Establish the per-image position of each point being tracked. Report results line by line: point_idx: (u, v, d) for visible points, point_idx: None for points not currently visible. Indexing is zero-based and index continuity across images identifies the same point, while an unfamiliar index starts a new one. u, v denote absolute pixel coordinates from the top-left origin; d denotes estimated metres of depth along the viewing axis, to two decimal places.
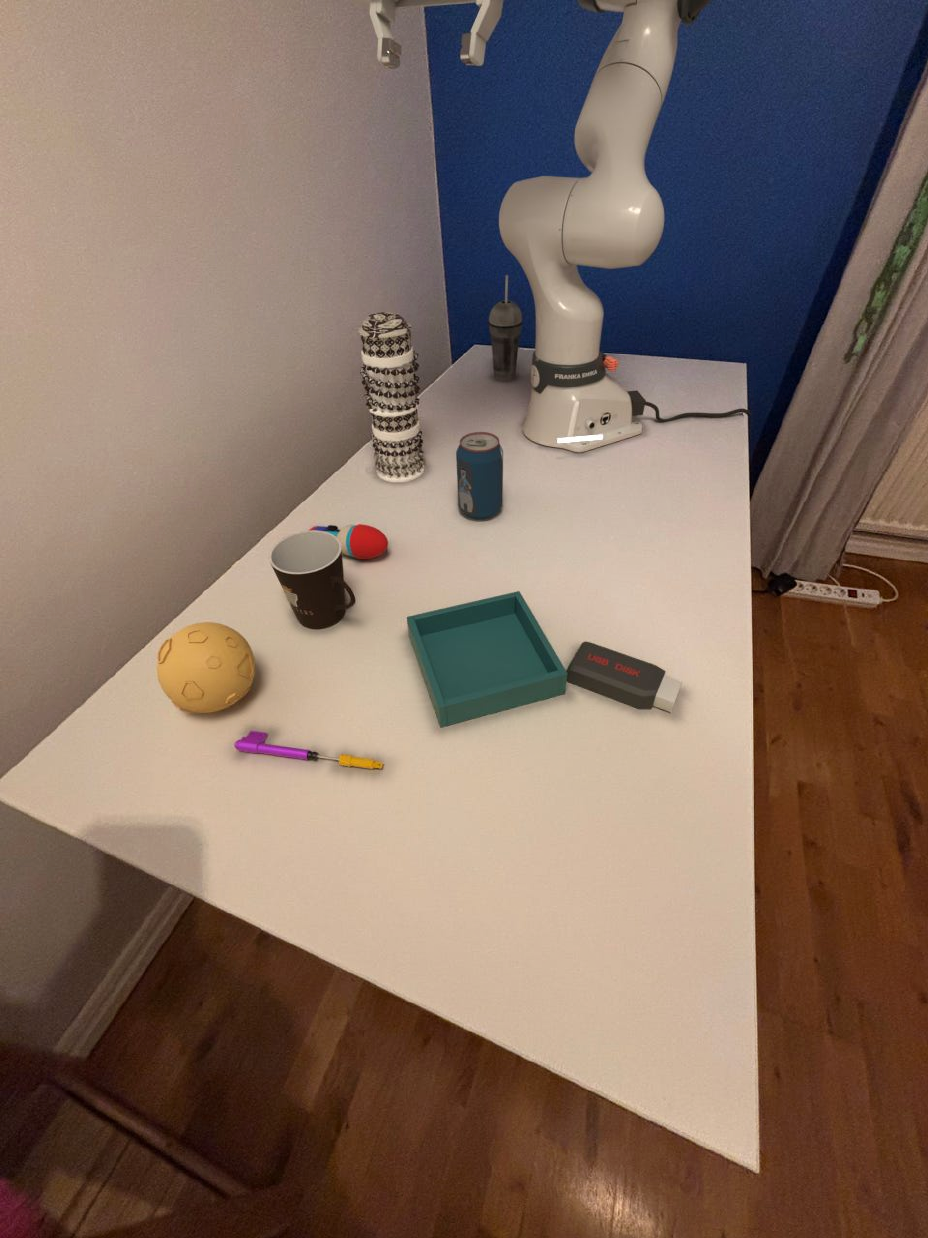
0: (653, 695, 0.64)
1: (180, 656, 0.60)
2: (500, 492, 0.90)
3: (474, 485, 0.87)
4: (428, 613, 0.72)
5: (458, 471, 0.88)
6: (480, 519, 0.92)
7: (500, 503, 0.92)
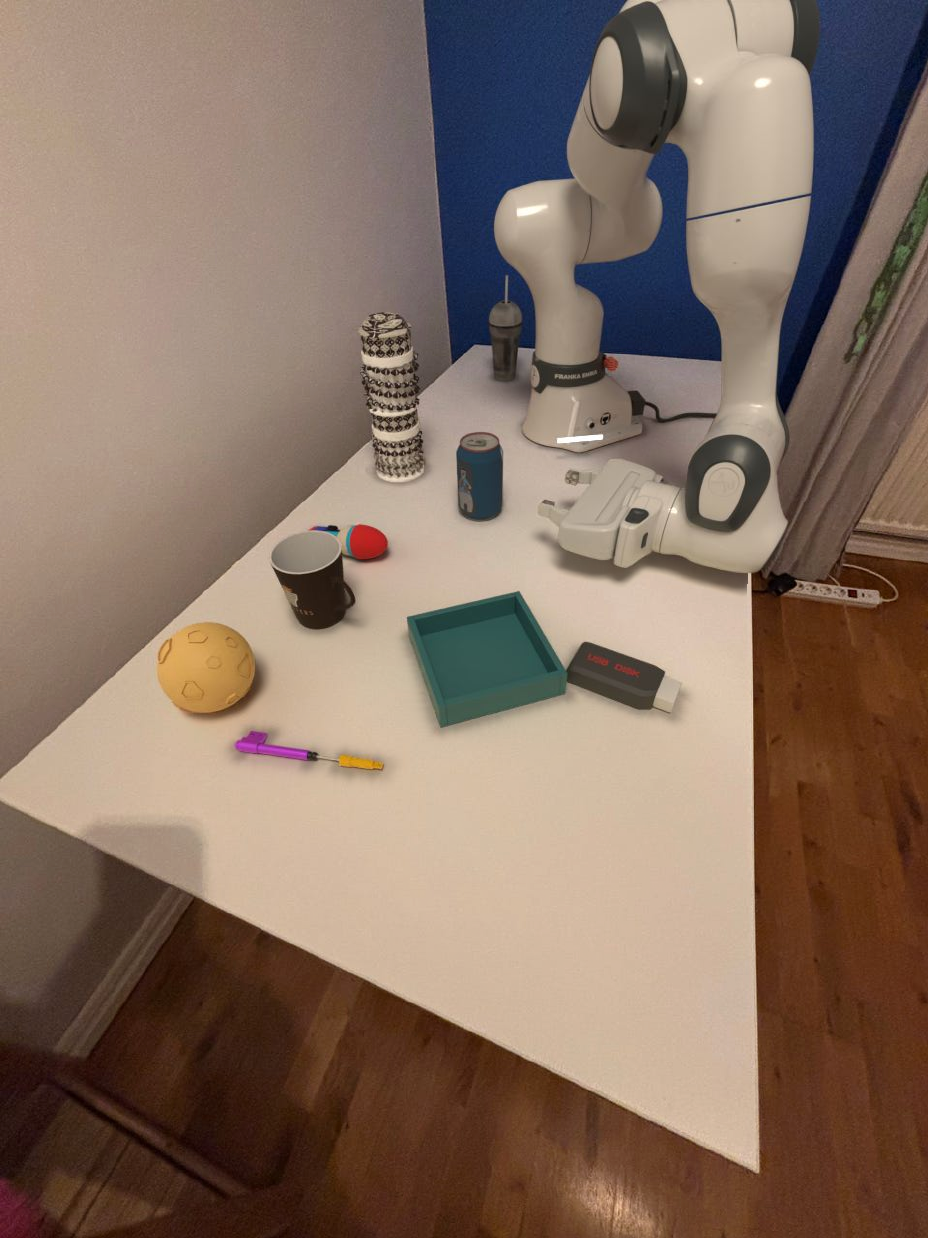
0: (653, 695, 0.64)
1: (180, 656, 0.60)
2: (500, 492, 0.90)
3: (474, 485, 0.87)
4: (428, 613, 0.72)
5: (458, 471, 0.88)
6: (480, 519, 0.92)
7: (500, 503, 0.92)
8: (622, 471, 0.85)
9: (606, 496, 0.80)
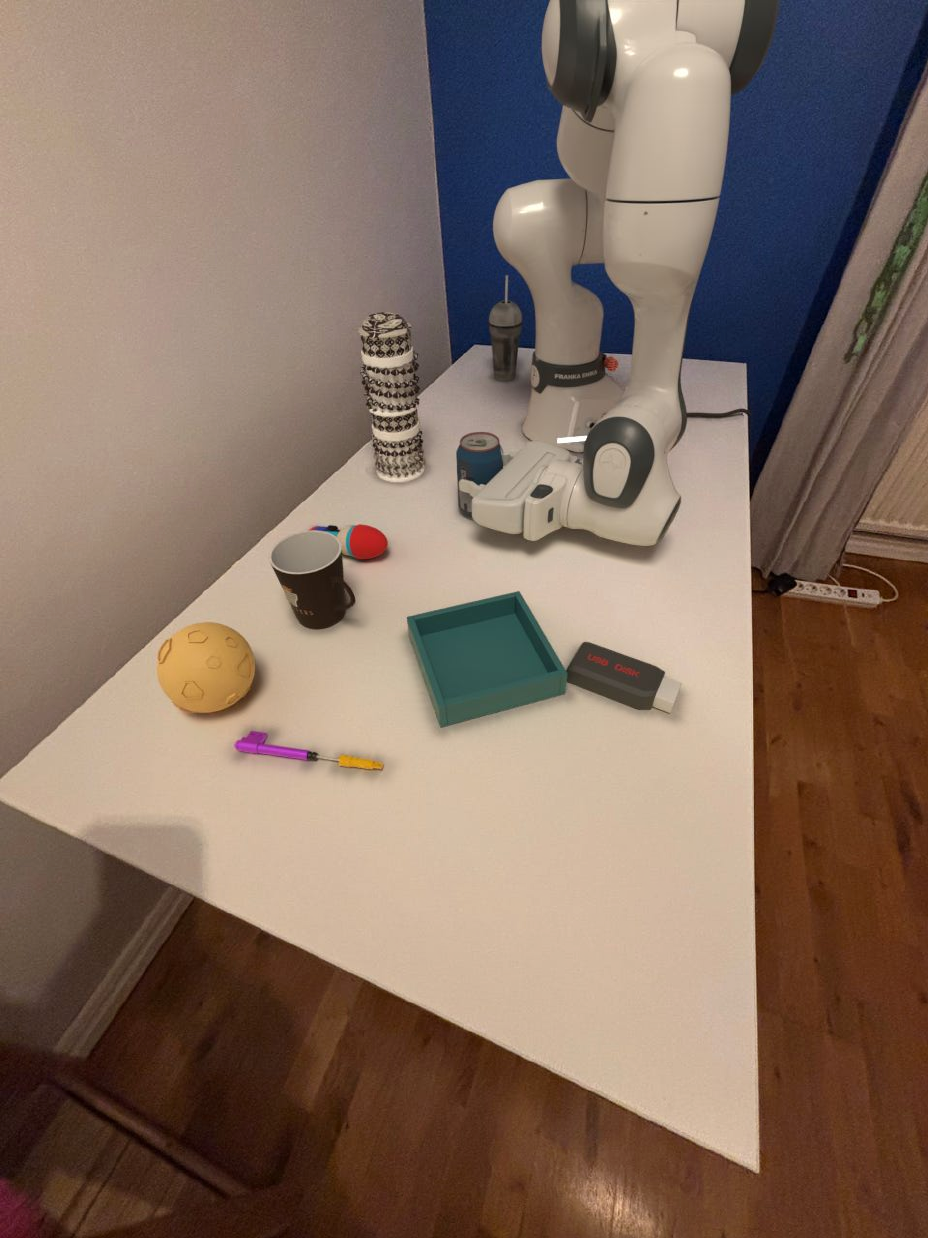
0: (652, 696, 0.64)
1: (180, 656, 0.60)
2: None
3: None
4: (428, 613, 0.72)
5: (458, 471, 0.88)
6: None
7: None
8: (538, 451, 0.90)
9: (519, 475, 0.85)
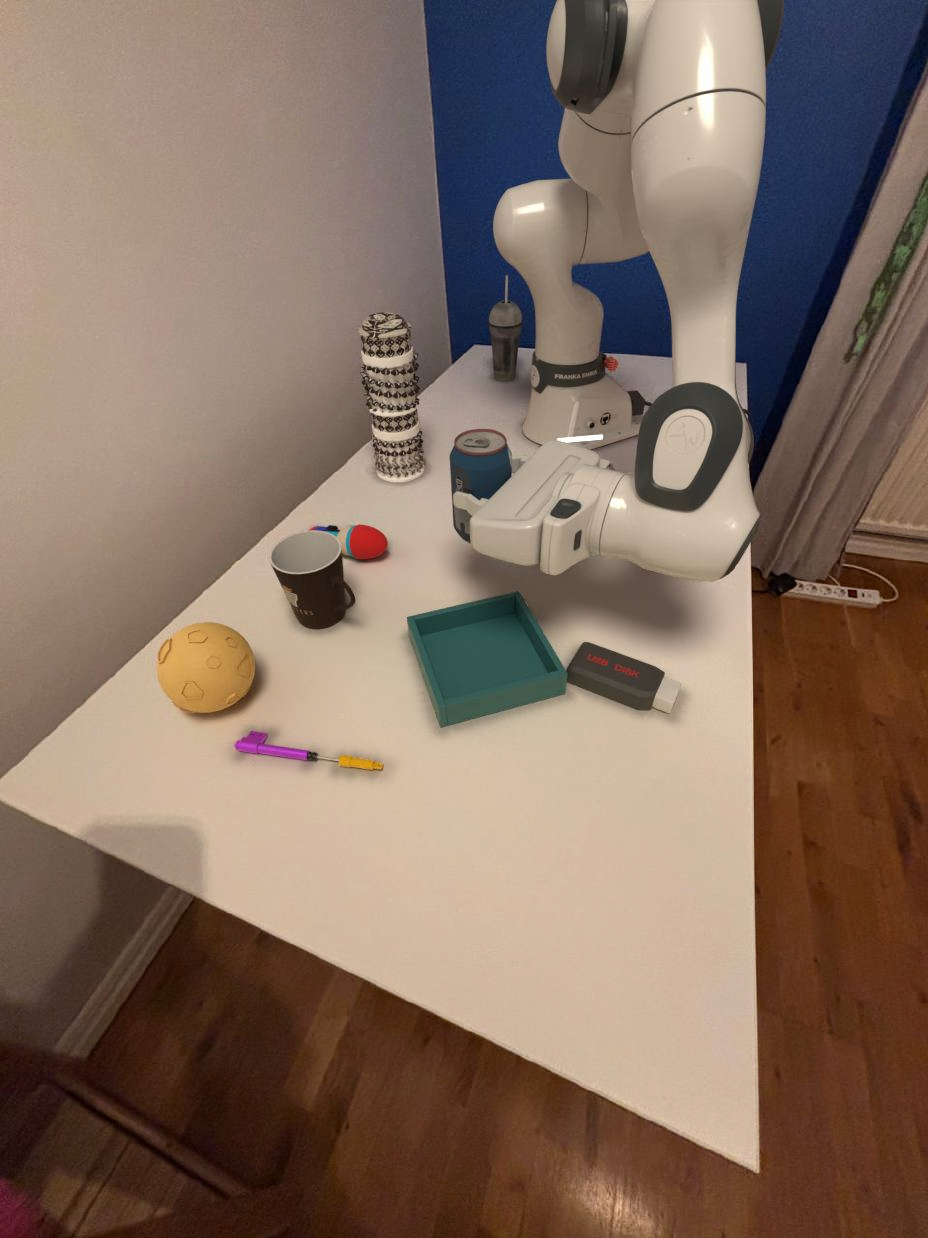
0: (652, 696, 0.64)
1: (180, 656, 0.60)
2: None
3: None
4: (428, 613, 0.72)
5: (452, 481, 0.67)
6: None
7: None
8: (558, 454, 0.68)
9: (534, 485, 0.64)
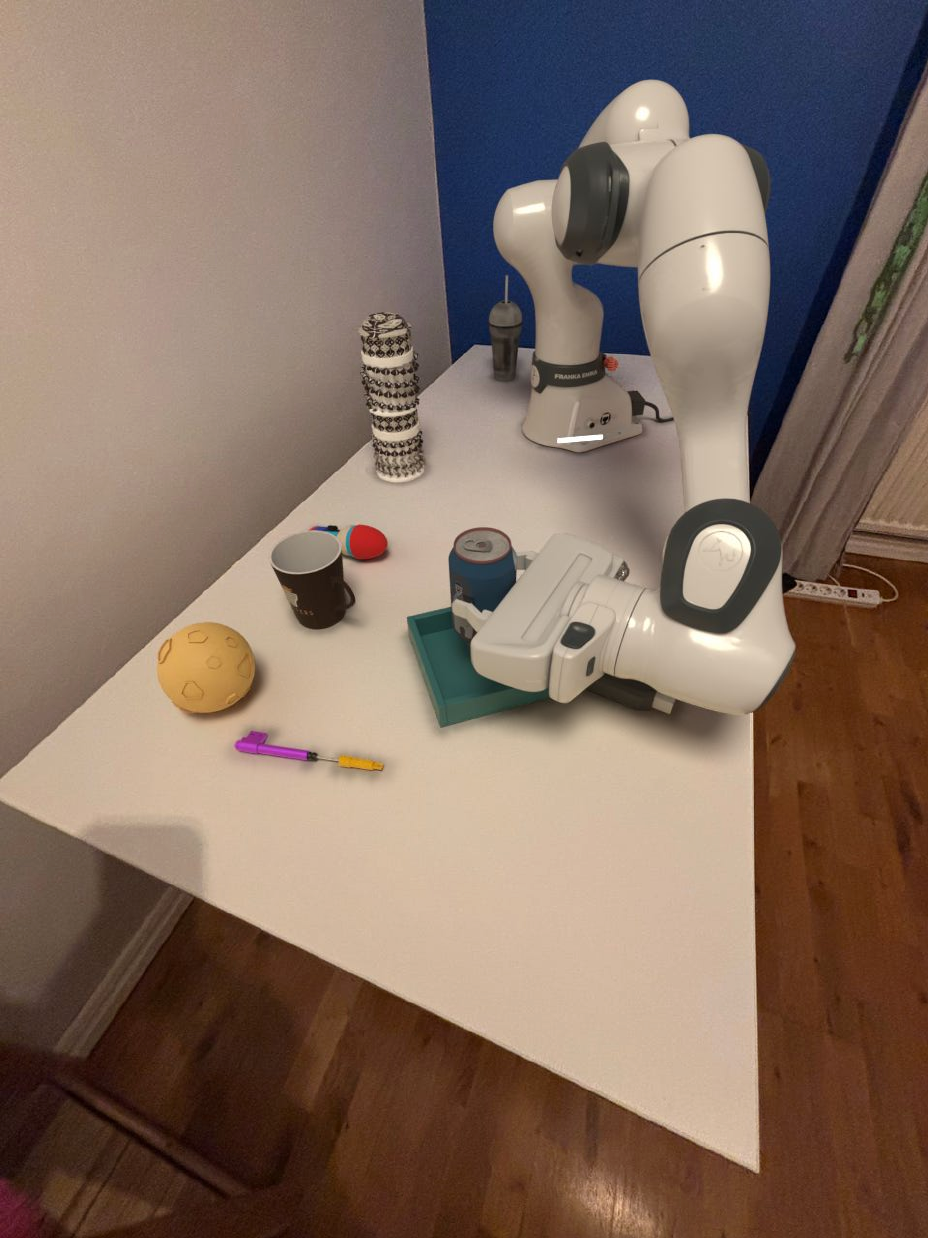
0: (652, 696, 0.64)
1: (180, 656, 0.60)
2: None
3: (475, 606, 0.60)
4: (428, 613, 0.72)
5: (451, 584, 0.61)
6: None
7: None
8: (567, 553, 0.62)
9: (542, 596, 0.58)
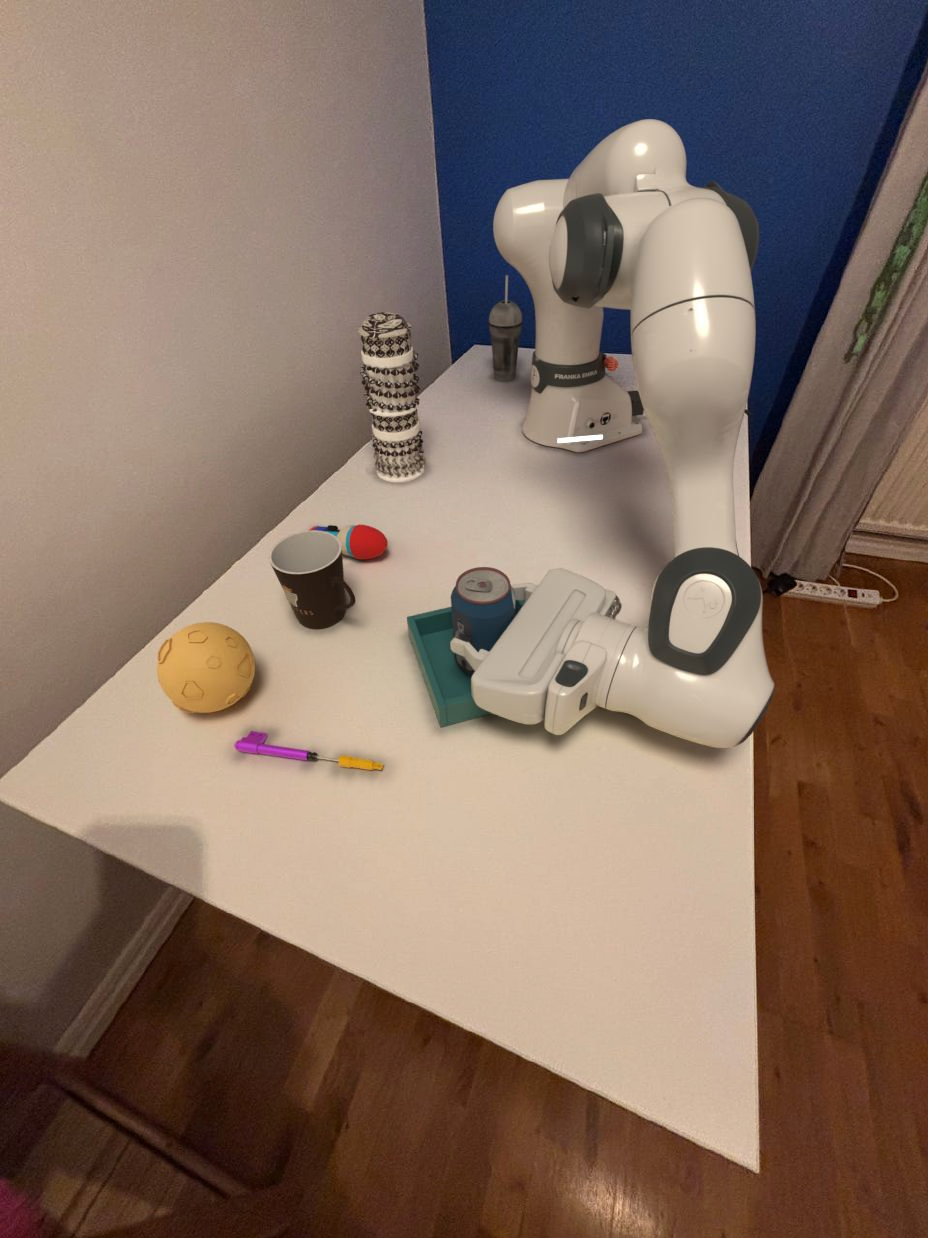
0: None
1: (180, 656, 0.60)
2: None
3: (476, 642, 0.63)
4: (428, 613, 0.72)
5: (454, 621, 0.64)
6: None
7: None
8: (563, 589, 0.66)
9: (538, 632, 0.61)
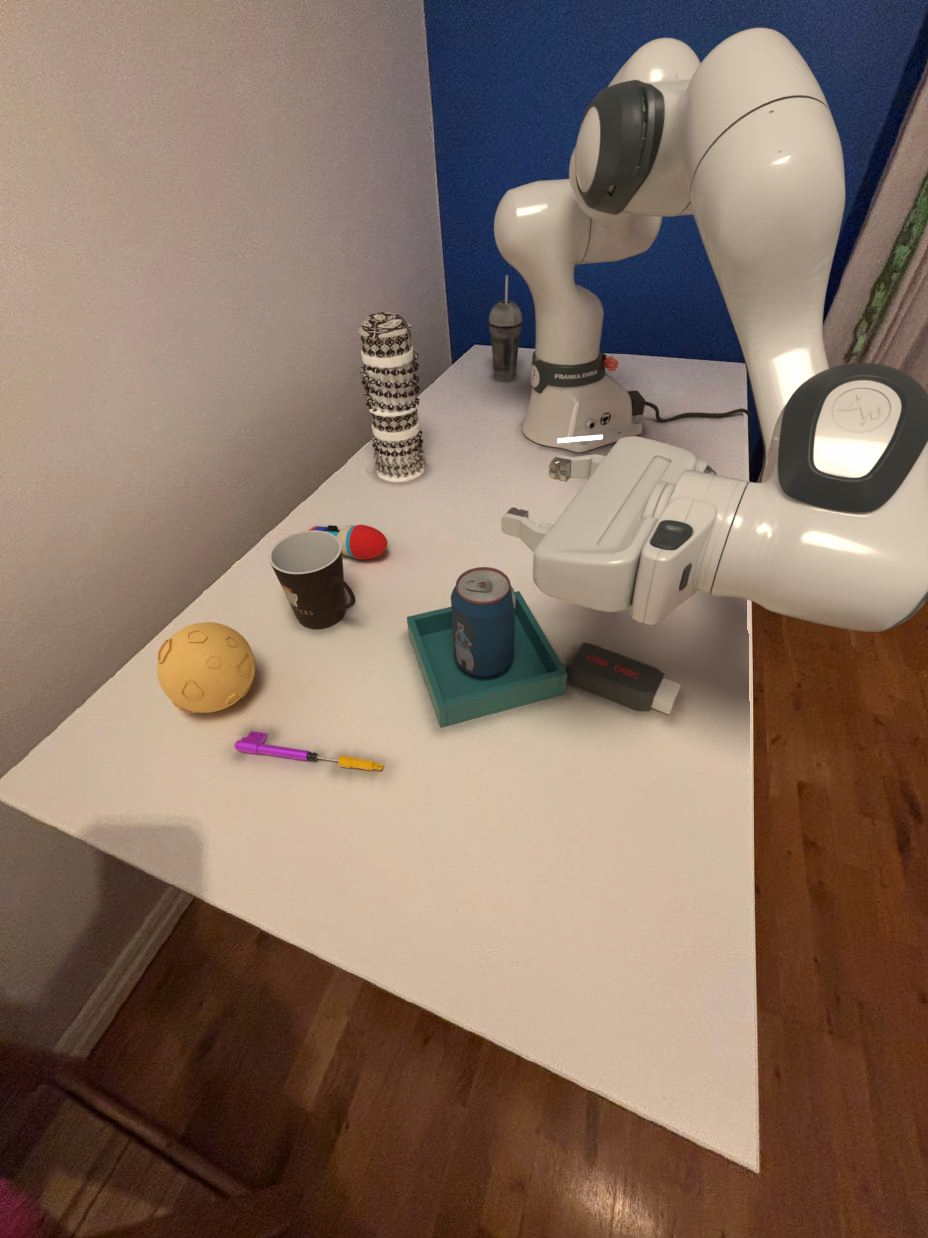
0: (651, 697, 0.64)
1: (180, 656, 0.60)
2: (511, 645, 0.66)
3: (476, 642, 0.63)
4: (428, 613, 0.72)
5: (454, 621, 0.64)
6: (483, 678, 0.68)
7: (511, 657, 0.68)
8: (640, 455, 0.52)
9: (616, 499, 0.47)
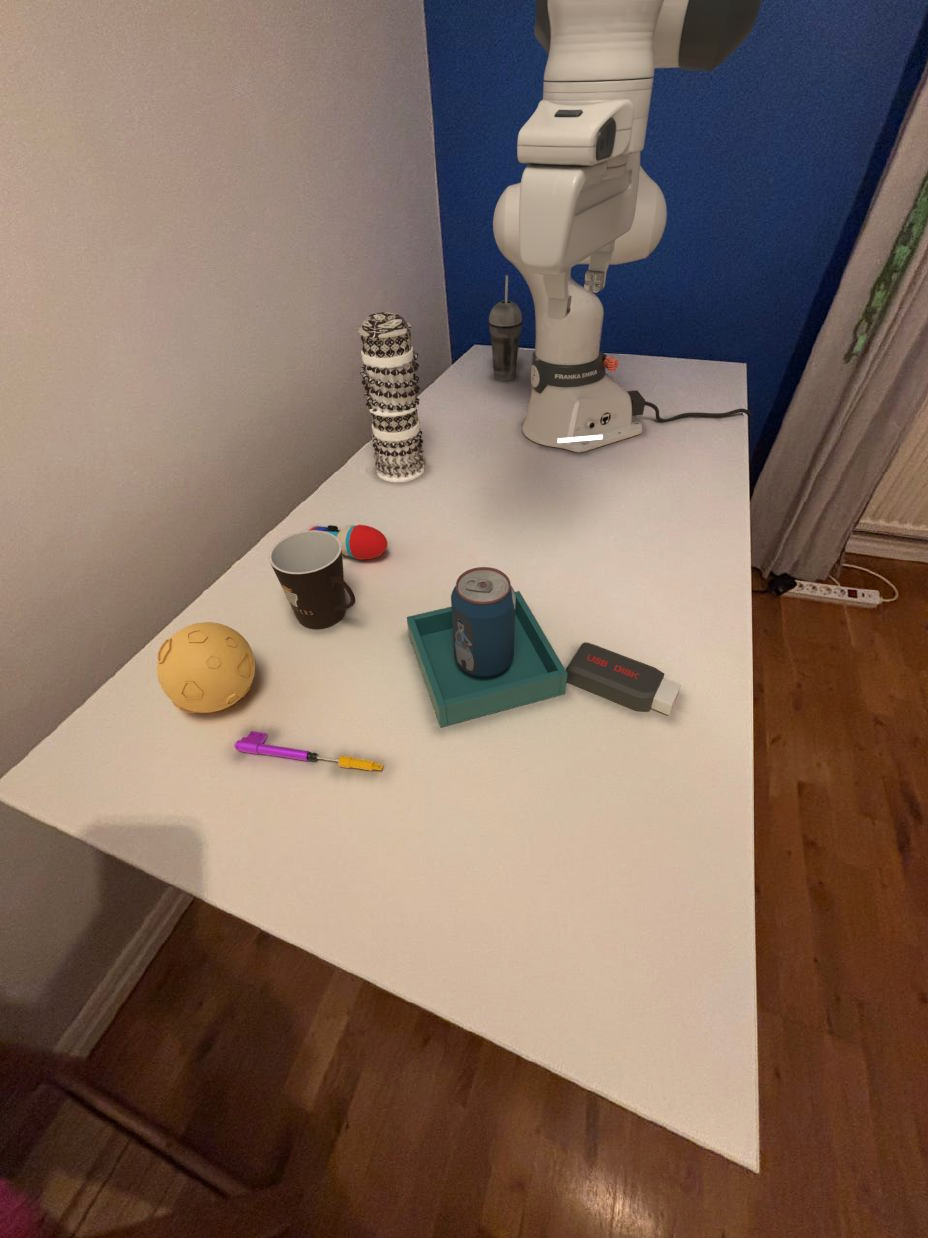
0: (651, 697, 0.64)
1: (180, 656, 0.60)
2: (511, 645, 0.66)
3: (476, 642, 0.63)
4: (428, 613, 0.72)
5: (454, 621, 0.64)
6: (483, 678, 0.68)
7: (511, 657, 0.68)
8: None
9: None
